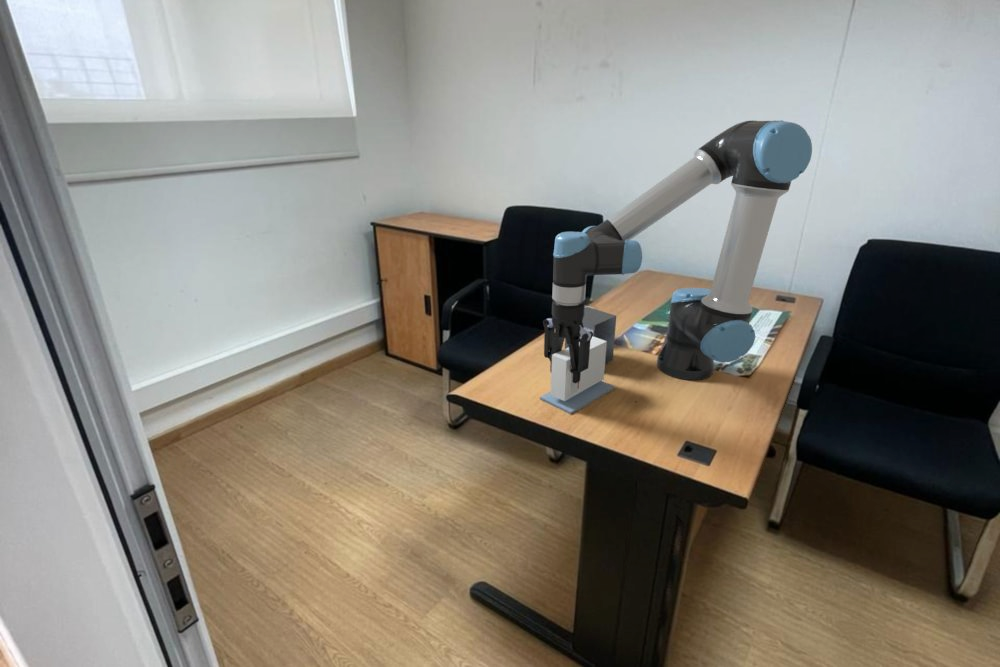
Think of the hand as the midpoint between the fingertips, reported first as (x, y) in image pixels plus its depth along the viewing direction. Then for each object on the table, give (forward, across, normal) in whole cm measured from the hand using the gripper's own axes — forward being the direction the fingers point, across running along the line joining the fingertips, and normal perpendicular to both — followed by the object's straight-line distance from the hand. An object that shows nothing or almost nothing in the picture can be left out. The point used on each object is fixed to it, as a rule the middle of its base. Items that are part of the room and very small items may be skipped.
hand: (564, 388), depth 126 cm
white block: (+2, 0, -6) cm, 6 cm away
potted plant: (+4, -13, -12) cm, 19 cm away
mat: (+4, 0, -6) cm, 7 cm away
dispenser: (+4, +10, -23) cm, 25 cm away
